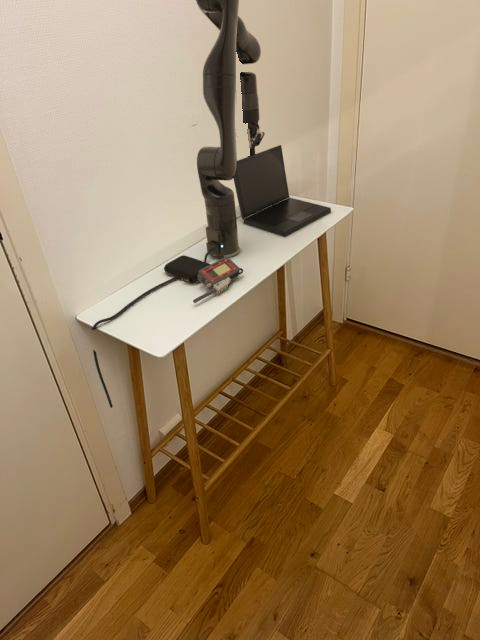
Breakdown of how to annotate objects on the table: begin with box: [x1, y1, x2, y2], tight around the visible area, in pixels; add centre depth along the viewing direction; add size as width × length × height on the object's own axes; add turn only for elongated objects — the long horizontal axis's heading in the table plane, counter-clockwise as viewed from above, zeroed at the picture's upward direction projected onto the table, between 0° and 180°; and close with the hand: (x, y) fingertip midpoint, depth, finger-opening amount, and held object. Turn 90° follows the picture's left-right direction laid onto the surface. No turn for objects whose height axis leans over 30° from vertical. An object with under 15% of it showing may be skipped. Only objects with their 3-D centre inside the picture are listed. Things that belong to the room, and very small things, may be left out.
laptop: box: [243, 197, 332, 238], centre depth 166 cm, size 20×26×2 cm
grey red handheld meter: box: [192, 257, 244, 304], centre depth 128 cm, size 9×4×20 cm
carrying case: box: [163, 255, 211, 284], centre depth 137 cm, size 11×3×15 cm
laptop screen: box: [232, 144, 290, 220], centre depth 167 cm, size 20×26×1 cm
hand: (251, 157), depth 166 cm, fingers closed
